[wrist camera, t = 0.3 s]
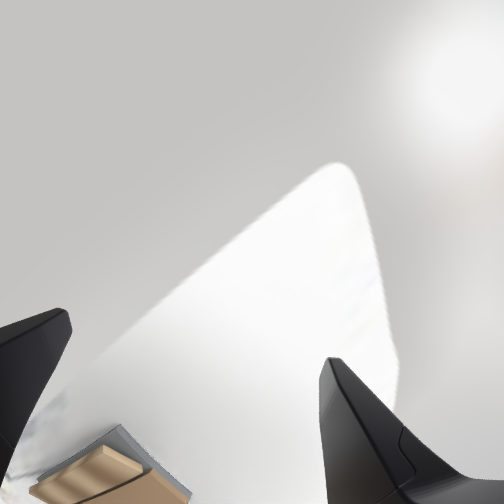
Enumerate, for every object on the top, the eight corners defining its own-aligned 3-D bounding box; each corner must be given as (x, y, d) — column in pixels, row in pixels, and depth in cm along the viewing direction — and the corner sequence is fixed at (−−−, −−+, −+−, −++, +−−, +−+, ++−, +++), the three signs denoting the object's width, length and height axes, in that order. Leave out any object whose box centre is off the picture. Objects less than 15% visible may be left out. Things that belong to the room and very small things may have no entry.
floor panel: (120, 424, 21) (110, 432, 19) (192, 493, 20) (187, 505, 17) (41, 475, 19) (32, 481, 17) (93, 528, 18) (87, 535, 15)
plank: (103, 444, 17) (102, 452, 16) (141, 464, 19) (142, 472, 18) (29, 487, 15) (28, 493, 14) (58, 503, 17) (58, 508, 16)
